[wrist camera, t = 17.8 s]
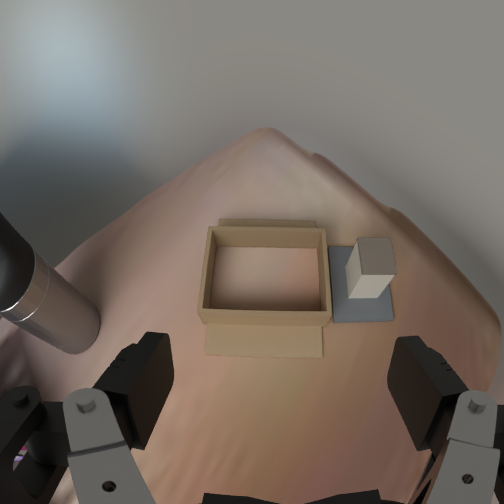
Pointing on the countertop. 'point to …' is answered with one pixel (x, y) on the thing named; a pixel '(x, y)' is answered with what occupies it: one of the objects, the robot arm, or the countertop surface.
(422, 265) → the countertop surface
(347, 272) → the tea box
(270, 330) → the carton
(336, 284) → the slate mat
